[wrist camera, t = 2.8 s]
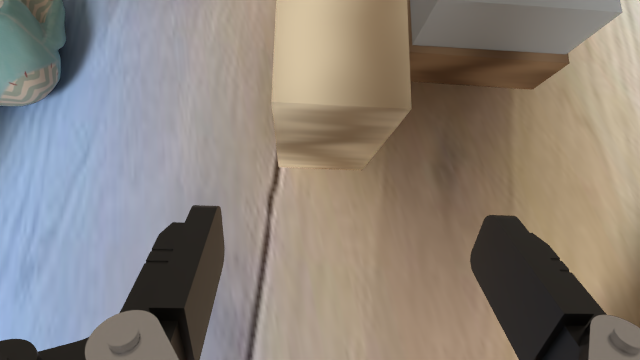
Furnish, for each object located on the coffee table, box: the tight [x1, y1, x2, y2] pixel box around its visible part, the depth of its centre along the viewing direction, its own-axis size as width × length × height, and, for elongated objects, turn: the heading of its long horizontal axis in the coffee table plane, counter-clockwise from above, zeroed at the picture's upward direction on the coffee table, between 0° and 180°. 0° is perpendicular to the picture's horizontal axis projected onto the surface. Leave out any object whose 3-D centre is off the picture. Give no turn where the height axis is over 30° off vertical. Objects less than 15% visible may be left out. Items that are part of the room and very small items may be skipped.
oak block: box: [271, 0, 412, 170], centre depth 20 cm, size 6×6×10 cm
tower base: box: [407, 0, 569, 89], centre depth 26 cm, size 11×11×4 cm
